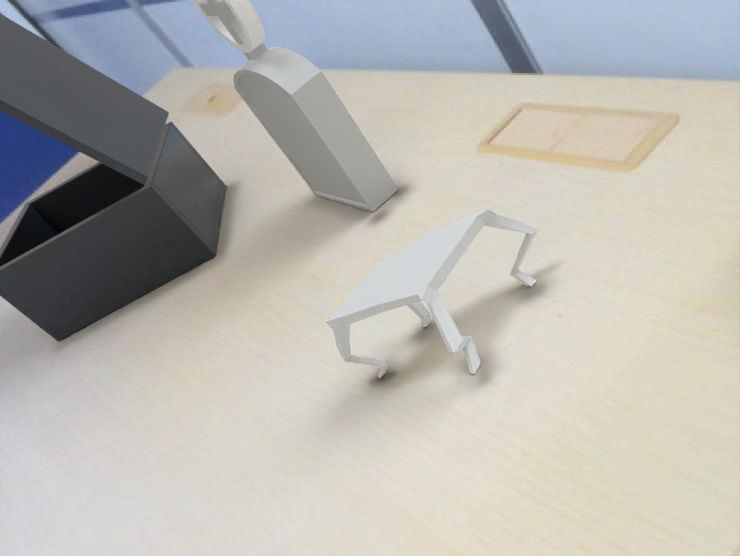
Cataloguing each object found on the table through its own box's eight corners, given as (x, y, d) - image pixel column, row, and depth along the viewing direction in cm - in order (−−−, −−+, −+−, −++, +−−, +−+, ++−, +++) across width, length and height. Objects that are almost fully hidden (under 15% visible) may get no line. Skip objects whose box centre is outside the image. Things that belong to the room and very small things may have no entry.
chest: (57, 341, 63) (-20, 280, 58) (89, 261, 72) (24, 203, 67) (215, 255, 62) (150, 186, 57) (226, 185, 71) (171, 120, 66)
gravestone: (339, 175, 62) (174, -58, 49) (398, 189, 57) (229, -71, 44) (315, 195, 62) (141, -36, 49) (373, 212, 56) (192, -46, 43)
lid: (-143, 37, 46) (-119, -38, 44) (-69, -16, 56) (-46, -80, 54) (143, 185, 57) (173, 129, 55) (165, 119, 66) (191, 69, 64)
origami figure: (439, 426, 38) (384, 360, 34) (357, 379, 43) (302, 318, 40) (586, 271, 41) (550, 196, 38) (494, 245, 47) (455, 177, 43)
